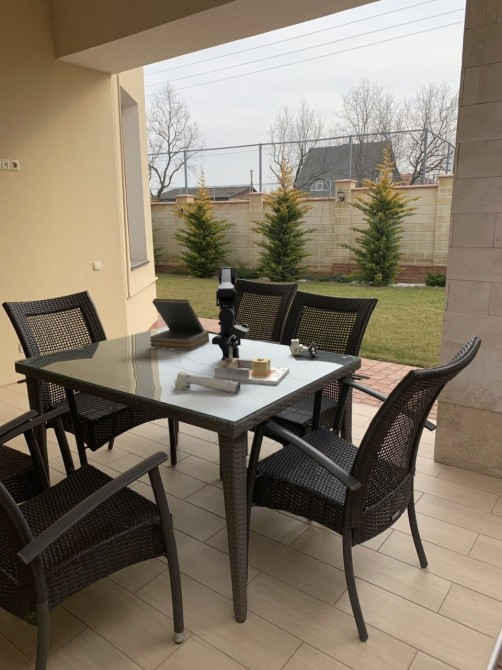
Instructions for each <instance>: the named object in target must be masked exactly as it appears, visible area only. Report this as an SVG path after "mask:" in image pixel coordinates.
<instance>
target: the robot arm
mask: <svg viewBox="0 0 502 670" xmlns="http://www.w3.org/2000/svg"><path fill="white" fill-rule="evenodd" d="M216 271H217V272H216V275H217V278H216V279H217V281H218V282H219V283H218V284H219V285H218V286H217V290H215V292H216V293H215V294H216V296H215V304H216V305H215V306H216V307H219V312H218V320H219V322H217V323H218V325H219V326H220V327H219V329H220V331H219V332H218V334H217V335H215V336H214V337H212V339H211V345H215V346H217V345H218V347H219V348H220V350H221V352H222V357H221V360H223V361H225V358H229V349H230V346H232V358H238V359H239V358H240V348H239V346H241V345H242V344H241V340H242V339H243V340H244V339H246V338H247V337H248V335H249V333H250V328H249V324H247V323H244V324H243V325H241V324H240V325H239V324H238V321H237V320H235V307H236V306H237V304H238V303H239V302H238V301H239V300H238V292H237V290H236V289H235V286H236V281H238V279H237V278H238V275H237V270H236V269H234V268H233V266H222V267H220V269H218V270H216Z"/></svg>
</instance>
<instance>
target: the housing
mask: <svg viewBox="0 0 502 670" xmlns="http://www.w3.org/2000/svg"><path fill="white" fill-rule="evenodd" d="M252 360H253V361H252V374H265V375H267V374H268V373H269V372H270V367H271V358H264V357H263V358H260V357H255V358H254V359H252Z"/></svg>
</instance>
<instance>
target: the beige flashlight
mask: <svg viewBox="0 0 502 670" xmlns="http://www.w3.org/2000/svg"><path fill="white" fill-rule="evenodd" d="M173 382H174V387H175V389H182V390H184V389H187V390H189V389H190V387H191V385H195V386H201V387H203V388H209V389H213V390H218V391H223V392H226V393H227V394H229V393H231V394H232V393H233V394H238V393H239V392H240V390H241V382H233V381H231V380H230V381H227V380H220V379H214V378H213V377H207V376H206V377H204V376H199V375H192V374H189V373H187V372H185V371H180V372H178V373H177V376H176V378H175V379H174V380H173ZM188 388H189V389H188Z"/></svg>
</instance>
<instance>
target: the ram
mask: <svg viewBox="0 0 502 670" xmlns="http://www.w3.org/2000/svg"><path fill="white" fill-rule="evenodd" d="M238 359H239V357H238V358H232V346H230V349H229V358H225V360H223V361H222V362H220V363H219V366H218V367H232V368H237V367H238Z"/></svg>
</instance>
